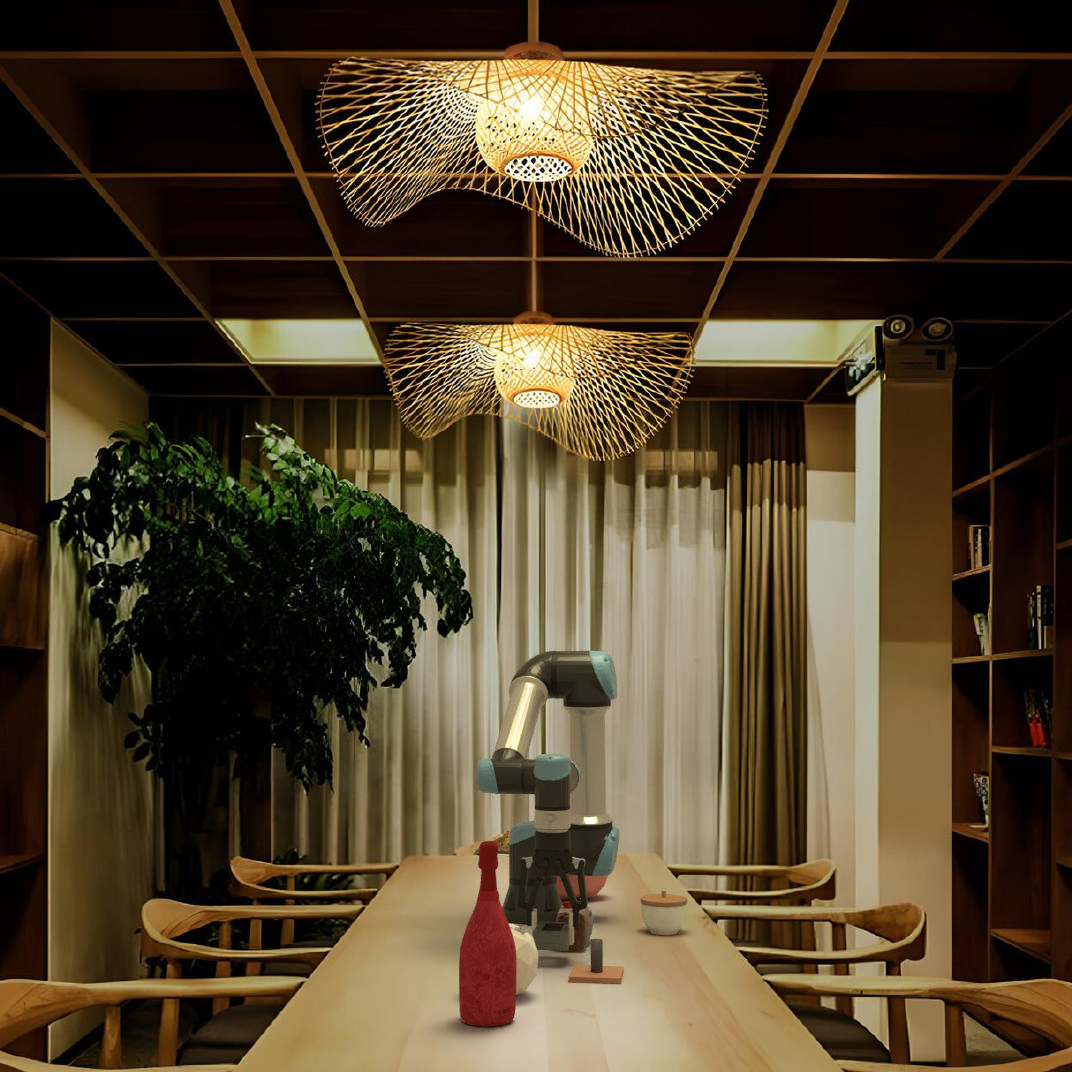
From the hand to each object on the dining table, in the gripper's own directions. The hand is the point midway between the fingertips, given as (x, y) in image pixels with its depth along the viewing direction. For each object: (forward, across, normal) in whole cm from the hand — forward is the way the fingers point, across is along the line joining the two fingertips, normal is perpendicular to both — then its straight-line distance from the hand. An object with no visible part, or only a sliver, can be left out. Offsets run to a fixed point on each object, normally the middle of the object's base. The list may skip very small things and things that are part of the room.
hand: (552, 942), depth 258 cm
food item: (+5, +3, +16) cm, 17 cm away
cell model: (+6, -3, +73) cm, 73 cm away
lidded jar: (+5, +22, +33) cm, 40 cm away
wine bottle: (+3, -6, -46) cm, 46 cm away
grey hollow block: (0, 0, 0) cm, 0 cm away
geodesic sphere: (+3, -6, -29) cm, 30 cm away
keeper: (+3, +10, -12) cm, 16 cm away
